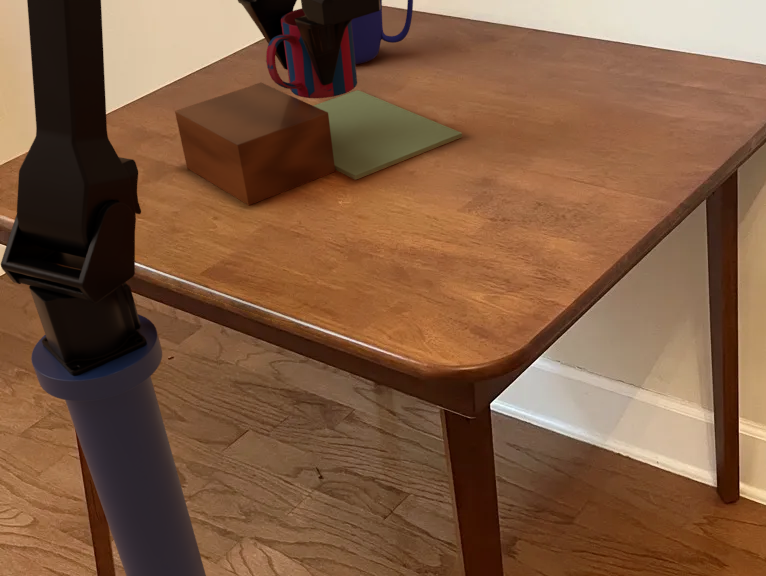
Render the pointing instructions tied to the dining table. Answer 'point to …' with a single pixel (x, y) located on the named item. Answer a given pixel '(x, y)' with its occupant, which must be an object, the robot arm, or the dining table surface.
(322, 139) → the step
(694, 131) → the dining table surface
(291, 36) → the cup
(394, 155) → the mat
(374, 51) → the mug
